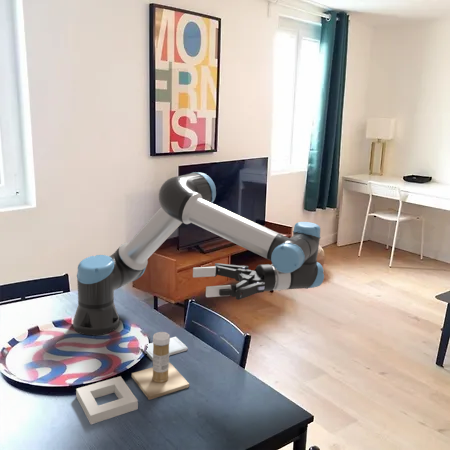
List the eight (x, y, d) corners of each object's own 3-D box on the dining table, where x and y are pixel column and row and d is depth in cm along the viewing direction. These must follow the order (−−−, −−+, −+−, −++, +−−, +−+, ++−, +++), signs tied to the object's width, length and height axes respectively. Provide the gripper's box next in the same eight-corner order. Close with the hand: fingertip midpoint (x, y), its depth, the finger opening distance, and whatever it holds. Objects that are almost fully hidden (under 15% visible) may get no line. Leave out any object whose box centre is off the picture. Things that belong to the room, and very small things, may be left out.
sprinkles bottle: (165, 372, 131) (166, 330, 128) (170, 381, 127) (172, 337, 124) (149, 375, 129) (150, 332, 126) (154, 385, 125) (155, 340, 122)
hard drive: (152, 357, 138) (187, 347, 145) (140, 345, 145) (175, 335, 152) (152, 362, 139) (187, 351, 146) (140, 349, 145) (175, 340, 152)
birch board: (131, 376, 130) (131, 373, 130) (169, 365, 137) (169, 362, 136) (149, 399, 121) (149, 396, 120) (189, 386, 127) (189, 383, 127)
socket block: (76, 397, 120) (76, 388, 119) (120, 384, 126) (120, 376, 126) (90, 424, 110) (90, 415, 110) (137, 409, 117) (137, 400, 116)
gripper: (289, 308, 121) (211, 315, 114) (254, 273, 144) (188, 277, 137) (292, 282, 119) (213, 287, 112) (256, 250, 142) (189, 253, 135)
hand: (199, 281), depth 125 cm, fingers open, 13 cm apart
